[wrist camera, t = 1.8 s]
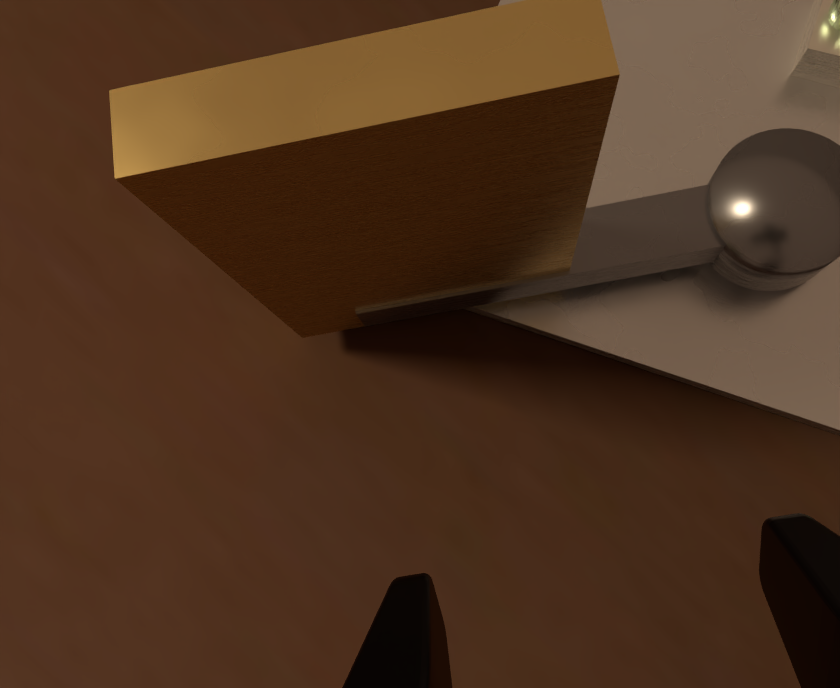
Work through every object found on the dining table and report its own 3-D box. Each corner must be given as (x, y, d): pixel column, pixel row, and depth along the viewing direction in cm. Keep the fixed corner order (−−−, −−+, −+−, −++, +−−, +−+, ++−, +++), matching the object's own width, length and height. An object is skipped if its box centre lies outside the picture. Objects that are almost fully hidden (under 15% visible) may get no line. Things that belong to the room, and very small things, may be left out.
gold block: (814, 150, 22) (1109, -197, 11) (854, 276, 21) (1219, 29, 10) (292, 252, 23) (105, 27, 12) (307, 376, 22) (119, 248, 11)
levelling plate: (961, 19, 23) (1023, -49, 20) (846, 437, 21) (899, 426, 18) (536, -78, 26) (539, -149, 23) (391, 284, 23) (376, 253, 21)
